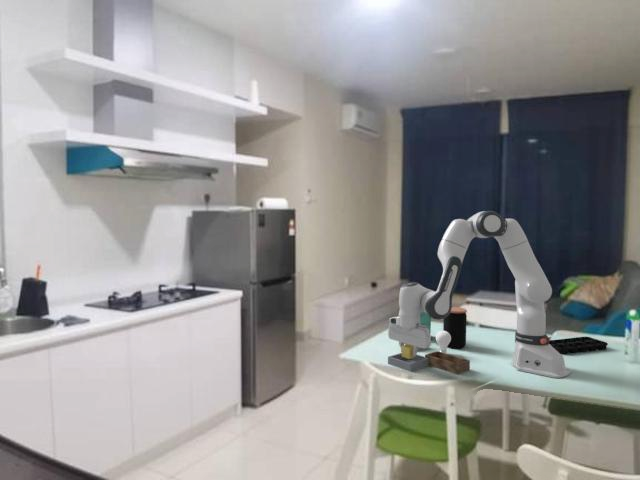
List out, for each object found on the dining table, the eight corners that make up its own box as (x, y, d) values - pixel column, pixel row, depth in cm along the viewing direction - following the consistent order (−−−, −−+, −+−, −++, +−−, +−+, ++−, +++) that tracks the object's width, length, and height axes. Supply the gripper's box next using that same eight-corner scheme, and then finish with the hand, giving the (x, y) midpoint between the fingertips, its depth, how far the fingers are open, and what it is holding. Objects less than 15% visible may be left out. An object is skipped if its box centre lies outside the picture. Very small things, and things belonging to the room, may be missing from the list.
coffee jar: (463, 343, 233) (464, 307, 232) (467, 349, 222) (469, 311, 221) (441, 342, 234) (442, 306, 233) (444, 348, 223) (445, 311, 222)
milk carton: (430, 340, 238) (431, 290, 237) (412, 339, 238) (413, 290, 237) (426, 335, 247) (427, 287, 246) (409, 335, 248) (410, 287, 246)
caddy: (469, 371, 193) (469, 360, 192) (457, 375, 187) (457, 364, 187) (436, 361, 205) (437, 351, 205) (424, 365, 200) (425, 354, 199)
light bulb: (440, 351, 219) (440, 328, 218) (453, 354, 214) (454, 330, 213) (432, 354, 214) (433, 330, 214) (445, 358, 210) (446, 333, 209)
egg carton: (611, 349, 226) (611, 342, 226) (574, 359, 211) (574, 351, 210) (575, 340, 241) (575, 333, 241) (538, 349, 226) (538, 341, 225)
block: (415, 357, 198) (415, 346, 198) (409, 359, 196) (409, 348, 195) (407, 354, 201) (408, 344, 201) (401, 356, 199) (401, 346, 199)
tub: (428, 366, 198) (429, 358, 198) (410, 372, 190) (410, 363, 190) (406, 359, 207) (406, 351, 207) (387, 364, 200) (388, 356, 199)
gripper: (434, 325, 192) (433, 358, 193) (395, 316, 207) (395, 347, 208) (424, 327, 188) (424, 361, 189) (386, 318, 203) (385, 349, 204)
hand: (408, 354), depth 199 cm, fingers closed on block, 4 cm apart
